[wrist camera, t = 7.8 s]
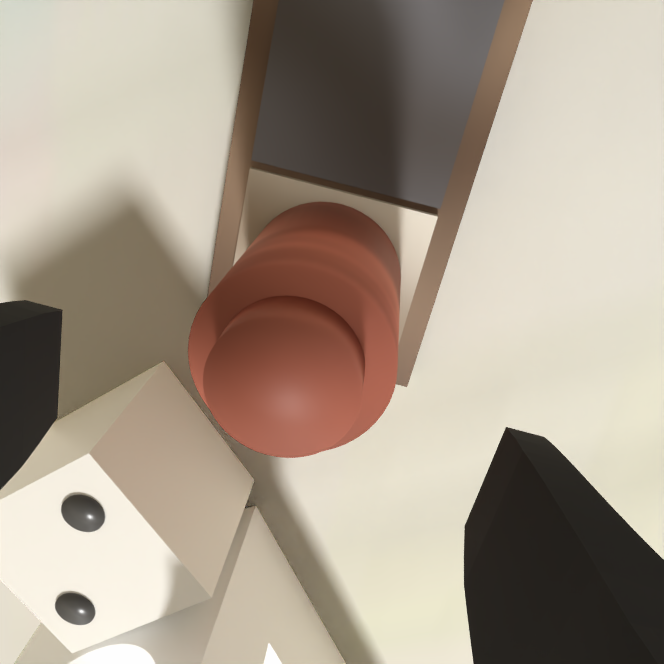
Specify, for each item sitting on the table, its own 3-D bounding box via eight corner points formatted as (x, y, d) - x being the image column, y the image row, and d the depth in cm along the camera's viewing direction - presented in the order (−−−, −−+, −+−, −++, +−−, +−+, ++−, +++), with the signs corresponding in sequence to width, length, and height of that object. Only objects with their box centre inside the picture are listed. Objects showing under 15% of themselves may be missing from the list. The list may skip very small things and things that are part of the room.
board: (320, -362, 12) (313, -397, 11) (620, -288, 12) (637, -317, 11) (209, 322, 18) (199, 336, 17) (407, 373, 18) (406, 390, 17)
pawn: (349, 171, 15) (315, 237, 10) (429, 304, 16) (438, 432, 11) (219, 250, 16) (124, 349, 11) (302, 369, 17) (253, 513, 12)
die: (164, 359, 19) (87, 454, 15) (255, 478, 21) (210, 599, 16) (49, 424, 21) (-54, 528, 16) (141, 531, 22) (70, 655, 17)
